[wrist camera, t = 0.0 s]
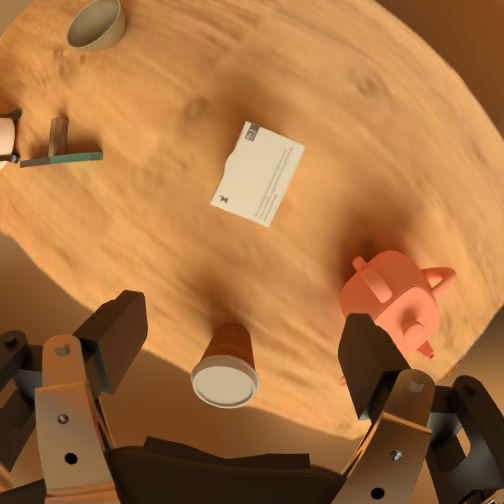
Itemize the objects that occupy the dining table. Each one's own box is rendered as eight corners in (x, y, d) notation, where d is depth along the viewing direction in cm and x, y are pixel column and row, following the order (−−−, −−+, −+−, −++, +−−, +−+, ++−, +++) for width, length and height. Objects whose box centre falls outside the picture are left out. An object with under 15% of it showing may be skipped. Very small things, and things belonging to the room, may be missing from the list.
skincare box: (266, 209, 38) (269, 235, 24) (227, 192, 38) (205, 207, 23) (291, 155, 36) (310, 147, 22) (251, 137, 35) (244, 118, 21)
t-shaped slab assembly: (34, 127, 34) (22, 126, 31) (106, 113, 34) (95, 110, 31) (32, 166, 36) (19, 167, 33) (102, 159, 36) (90, 160, 33)
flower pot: (127, 58, 31) (106, 44, 24) (81, 63, 31) (58, 52, 24) (146, 10, 28) (129, -9, 21) (99, 17, 28) (79, 3, 21)
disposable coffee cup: (272, 336, 44) (274, 386, 33) (238, 368, 47) (232, 417, 35) (225, 304, 43) (213, 351, 31) (194, 341, 45) (177, 388, 34)
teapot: (408, 326, 43) (442, 370, 30) (323, 336, 44) (340, 392, 31) (423, 242, 39) (472, 271, 26) (328, 245, 39) (357, 282, 27)
